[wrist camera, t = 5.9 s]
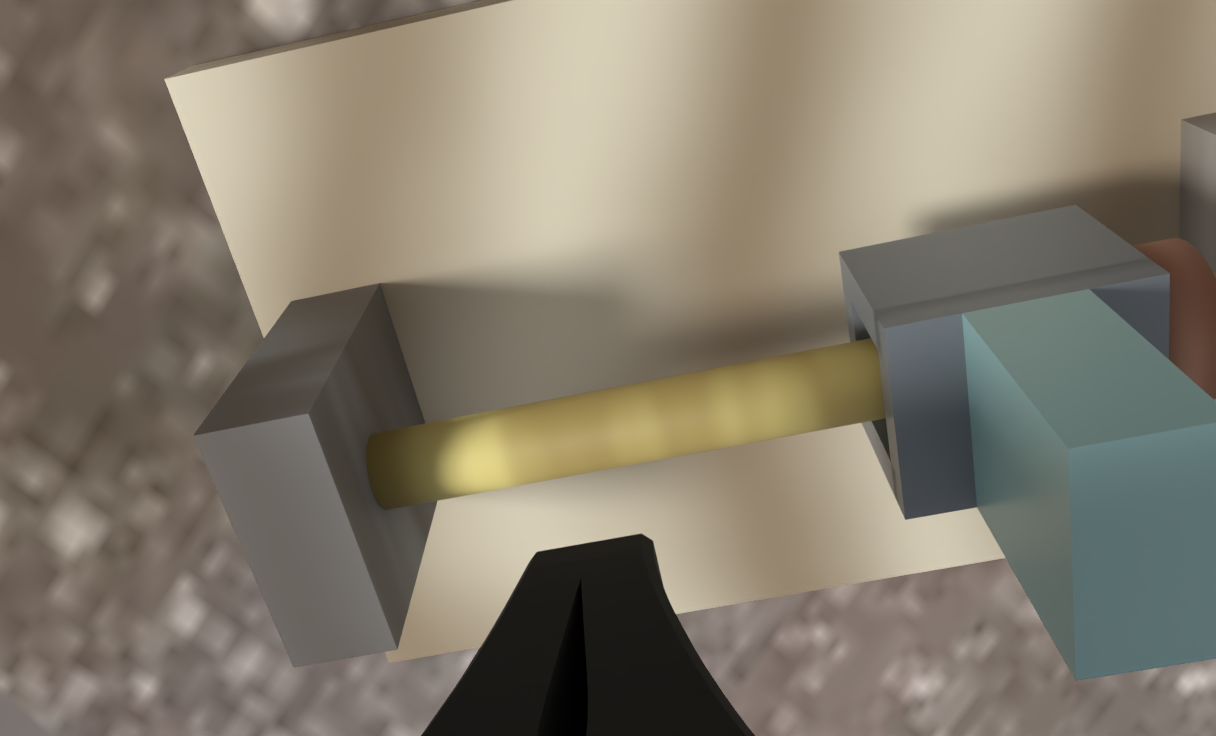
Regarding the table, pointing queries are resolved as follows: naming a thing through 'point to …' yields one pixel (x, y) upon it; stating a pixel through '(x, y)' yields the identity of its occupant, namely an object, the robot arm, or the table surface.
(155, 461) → the table surface
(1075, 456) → the sleeve
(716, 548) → the rod and block board
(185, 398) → the table surface
